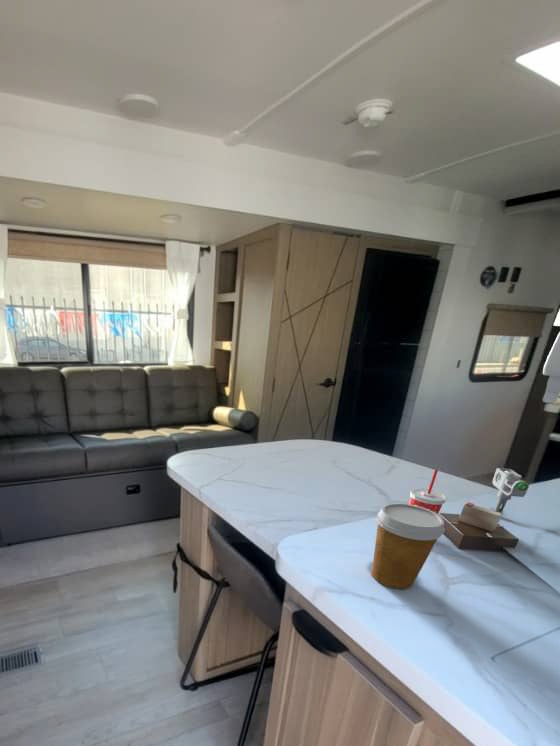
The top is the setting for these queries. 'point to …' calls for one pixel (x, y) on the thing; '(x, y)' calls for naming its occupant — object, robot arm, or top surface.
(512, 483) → the mechanical component
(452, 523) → the brown square box
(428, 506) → the beverage cup
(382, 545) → the disposable coffee cup
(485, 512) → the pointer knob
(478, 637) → the top surface
